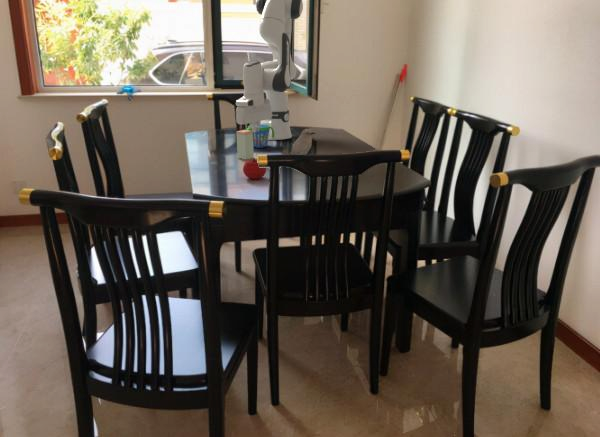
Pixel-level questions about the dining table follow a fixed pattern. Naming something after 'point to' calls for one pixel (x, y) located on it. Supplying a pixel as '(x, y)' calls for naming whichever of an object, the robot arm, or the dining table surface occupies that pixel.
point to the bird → (303, 142)
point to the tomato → (253, 169)
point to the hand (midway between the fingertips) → (255, 131)
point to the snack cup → (261, 135)
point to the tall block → (245, 144)
